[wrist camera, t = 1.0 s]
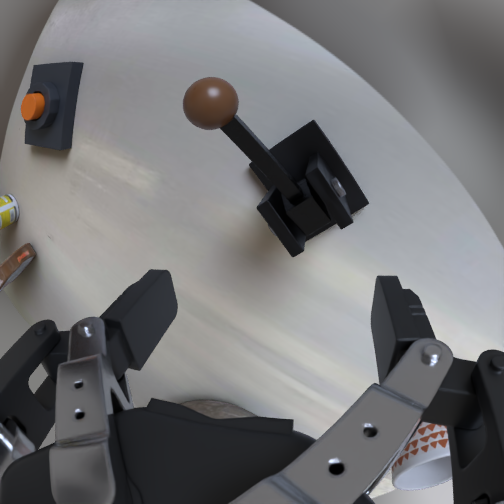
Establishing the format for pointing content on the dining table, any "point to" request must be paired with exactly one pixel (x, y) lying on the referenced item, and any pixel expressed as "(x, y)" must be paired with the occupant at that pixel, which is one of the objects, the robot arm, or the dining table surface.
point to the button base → (54, 104)
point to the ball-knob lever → (253, 149)
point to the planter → (424, 460)
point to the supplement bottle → (8, 210)
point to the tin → (15, 264)
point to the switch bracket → (319, 177)
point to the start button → (32, 106)
